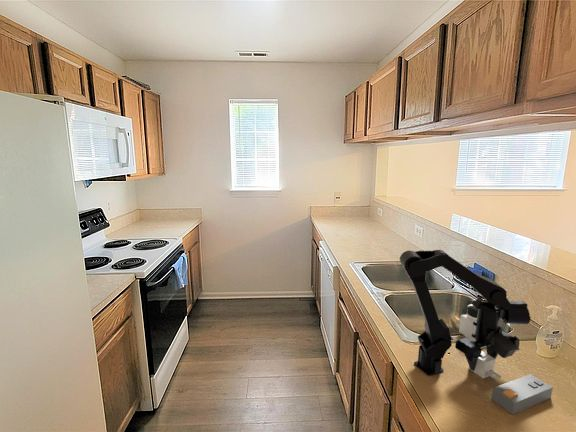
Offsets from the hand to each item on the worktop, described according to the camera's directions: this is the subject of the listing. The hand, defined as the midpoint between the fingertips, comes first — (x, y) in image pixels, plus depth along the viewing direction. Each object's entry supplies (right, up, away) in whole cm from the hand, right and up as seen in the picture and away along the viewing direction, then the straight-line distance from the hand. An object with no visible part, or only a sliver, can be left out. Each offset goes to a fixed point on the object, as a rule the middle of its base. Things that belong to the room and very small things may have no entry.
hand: (481, 366), depth 104 cm
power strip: (+5, -4, -11) cm, 13 cm away
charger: (0, -2, -1) cm, 2 cm away
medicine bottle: (+9, +2, +20) cm, 22 cm away
